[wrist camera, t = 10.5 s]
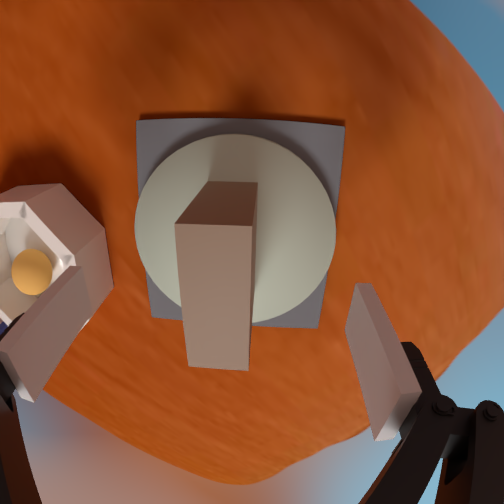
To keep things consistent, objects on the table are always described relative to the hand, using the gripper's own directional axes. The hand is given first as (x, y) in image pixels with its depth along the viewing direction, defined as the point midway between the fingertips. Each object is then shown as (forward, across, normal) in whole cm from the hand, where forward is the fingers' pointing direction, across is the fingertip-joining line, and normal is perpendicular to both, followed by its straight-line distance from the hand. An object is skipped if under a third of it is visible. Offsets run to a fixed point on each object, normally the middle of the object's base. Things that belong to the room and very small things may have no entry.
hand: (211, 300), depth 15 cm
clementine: (+9, -17, -4) cm, 20 cm away
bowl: (+10, -17, -3) cm, 20 cm away
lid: (+9, 0, 0) cm, 9 cm away
